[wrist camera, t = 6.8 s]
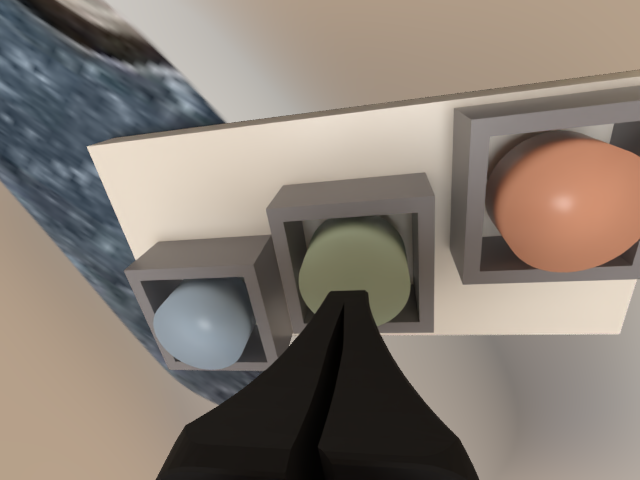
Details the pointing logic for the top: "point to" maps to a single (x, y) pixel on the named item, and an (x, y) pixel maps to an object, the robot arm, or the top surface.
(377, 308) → the button green
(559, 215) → the button terracotta
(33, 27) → the top surface
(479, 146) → the panel
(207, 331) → the button blue
